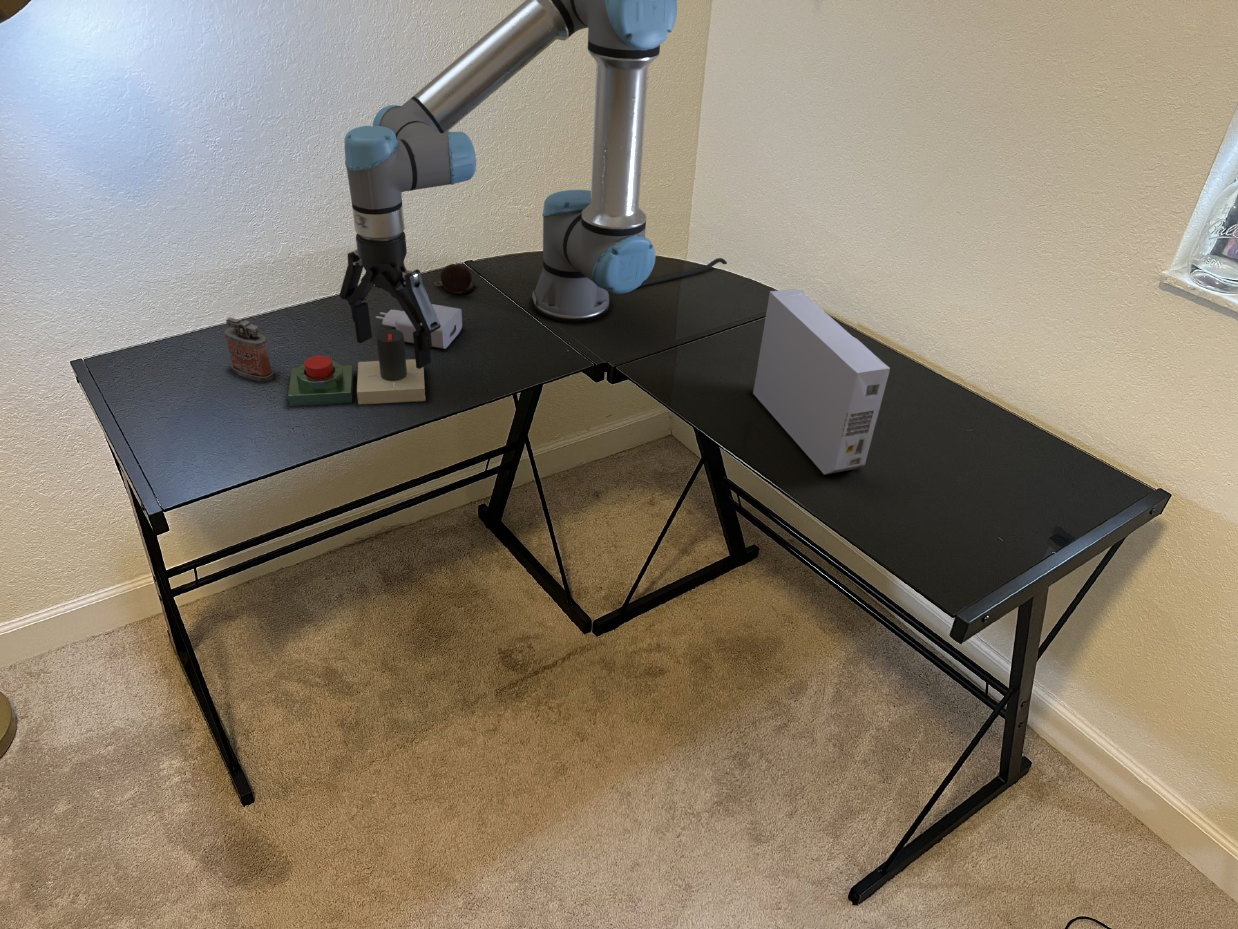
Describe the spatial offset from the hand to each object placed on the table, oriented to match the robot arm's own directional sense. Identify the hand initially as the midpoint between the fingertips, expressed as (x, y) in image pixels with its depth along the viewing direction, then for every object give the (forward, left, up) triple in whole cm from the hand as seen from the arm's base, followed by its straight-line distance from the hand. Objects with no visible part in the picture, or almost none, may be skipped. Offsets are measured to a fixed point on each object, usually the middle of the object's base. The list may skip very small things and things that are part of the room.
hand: (393, 352), depth 159 cm
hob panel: (+1, 0, -7) cm, 7 cm away
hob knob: (0, 0, -4) cm, 4 cm away
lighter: (+24, -7, -7) cm, 26 cm away
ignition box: (+12, 0, -7) cm, 14 cm away
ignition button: (+12, 0, -3) cm, 13 cm away
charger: (-4, -19, -7) cm, 20 cm away
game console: (-67, +22, -7) cm, 70 cm away
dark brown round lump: (-12, -37, -7) cm, 39 cm away
